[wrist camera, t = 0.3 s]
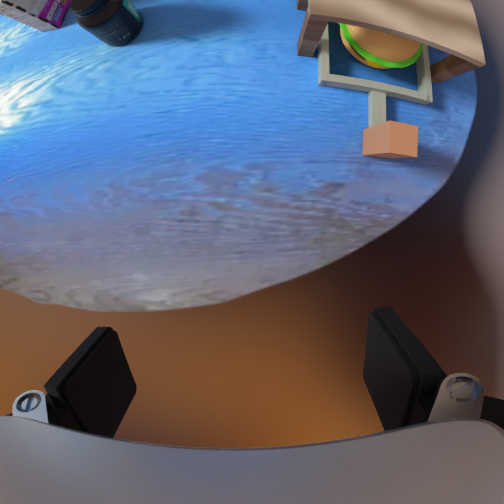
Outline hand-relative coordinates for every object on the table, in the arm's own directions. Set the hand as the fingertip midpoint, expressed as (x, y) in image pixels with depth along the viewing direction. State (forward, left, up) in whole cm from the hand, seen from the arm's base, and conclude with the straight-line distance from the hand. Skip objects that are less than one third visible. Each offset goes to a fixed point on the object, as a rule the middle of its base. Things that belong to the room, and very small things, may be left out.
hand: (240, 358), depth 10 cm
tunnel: (-28, +15, -30) cm, 43 cm away
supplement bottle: (-29, -21, -30) cm, 47 cm away
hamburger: (-27, +15, -30) cm, 43 cm away
